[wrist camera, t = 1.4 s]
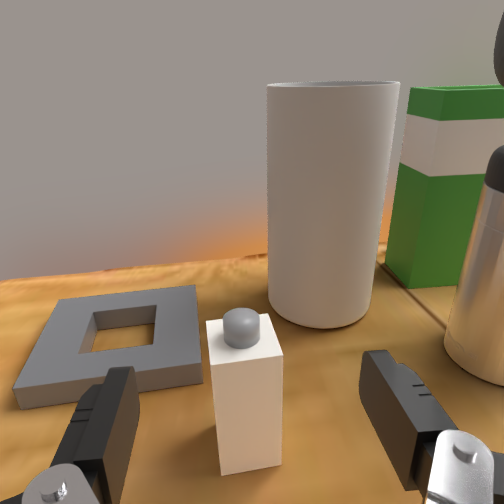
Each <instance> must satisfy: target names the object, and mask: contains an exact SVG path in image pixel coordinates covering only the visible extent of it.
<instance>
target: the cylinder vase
mask: <svg viewBox="0 0 504 504" xmlns="http://www.w3.org/2000/svg"><path fill="white" fill-rule="evenodd" d="M399 88H400V82H390V81H330V82H329V81H328V82H299V83H298V82H297V83H280V84H269V85H267V189H268V190H267V191H268V192H267V197H268V200H267V201H268V298H269V302H270V304H271V306H272V307H273V309H274V310H275V311H276V312H277V313H278V314H279V315H280V316H282V317H283V318H285V319H287V320H289V321H291V322H293V323H295V324H298V325H302V326H306V327H311V328H321V329H328V328H338V327H343V326H346V325H349V324H352V323H354V322H356V321H357V320H359V319H360V318H362V317H363V316H364V315H365V313H366V312H367V311H368V309H369V306H370V301H371V293H372V286H373V279H374V271H375V264H376V257H377V249H378V242H379V234H380V227H381V220H382V212H383V205H384V198H385V190H386V183H387V176H388V169H389V161H390V154H391V147H392V139H393V131H394V124H395V117H396V110H397V103H398V95H399Z"/></svg>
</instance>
